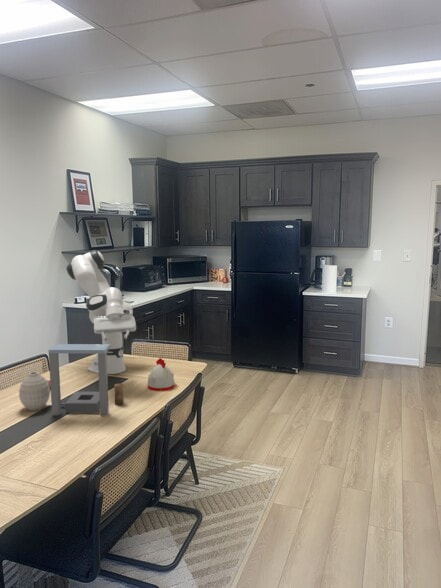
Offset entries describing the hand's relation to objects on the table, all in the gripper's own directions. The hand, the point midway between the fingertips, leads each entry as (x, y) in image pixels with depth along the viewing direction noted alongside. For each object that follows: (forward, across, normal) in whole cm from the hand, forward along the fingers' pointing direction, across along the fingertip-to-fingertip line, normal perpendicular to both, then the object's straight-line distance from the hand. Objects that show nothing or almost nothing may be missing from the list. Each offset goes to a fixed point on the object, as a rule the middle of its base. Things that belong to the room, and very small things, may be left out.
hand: (115, 339), depth 209 cm
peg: (+28, 0, +12) cm, 30 cm away
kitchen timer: (+15, +21, +25) cm, 37 cm away
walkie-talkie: (+11, -38, +28) cm, 49 cm away
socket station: (+29, -15, +10) cm, 34 cm away
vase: (+26, -37, +13) cm, 47 cm away
